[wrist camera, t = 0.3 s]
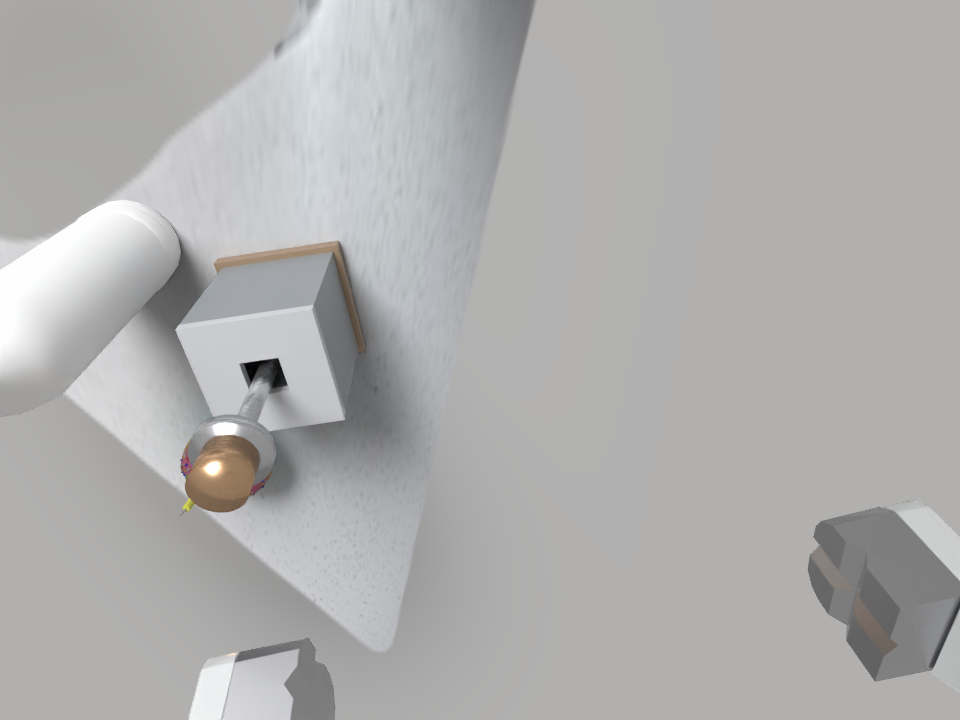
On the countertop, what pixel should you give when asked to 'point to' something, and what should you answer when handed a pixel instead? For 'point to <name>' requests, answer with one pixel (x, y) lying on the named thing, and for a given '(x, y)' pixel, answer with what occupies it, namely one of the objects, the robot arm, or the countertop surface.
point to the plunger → (234, 446)
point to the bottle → (77, 298)
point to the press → (277, 334)
